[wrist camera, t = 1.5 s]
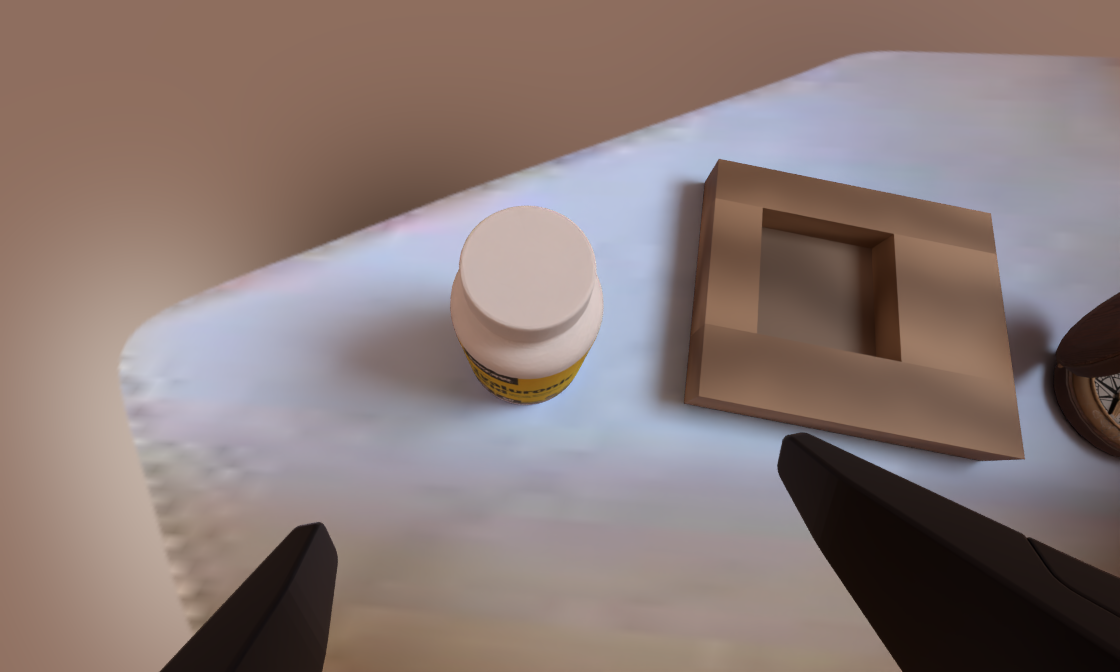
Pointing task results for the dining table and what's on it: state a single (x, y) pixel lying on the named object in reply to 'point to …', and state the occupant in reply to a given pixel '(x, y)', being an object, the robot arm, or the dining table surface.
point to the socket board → (851, 314)
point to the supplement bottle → (526, 303)
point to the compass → (1092, 376)
